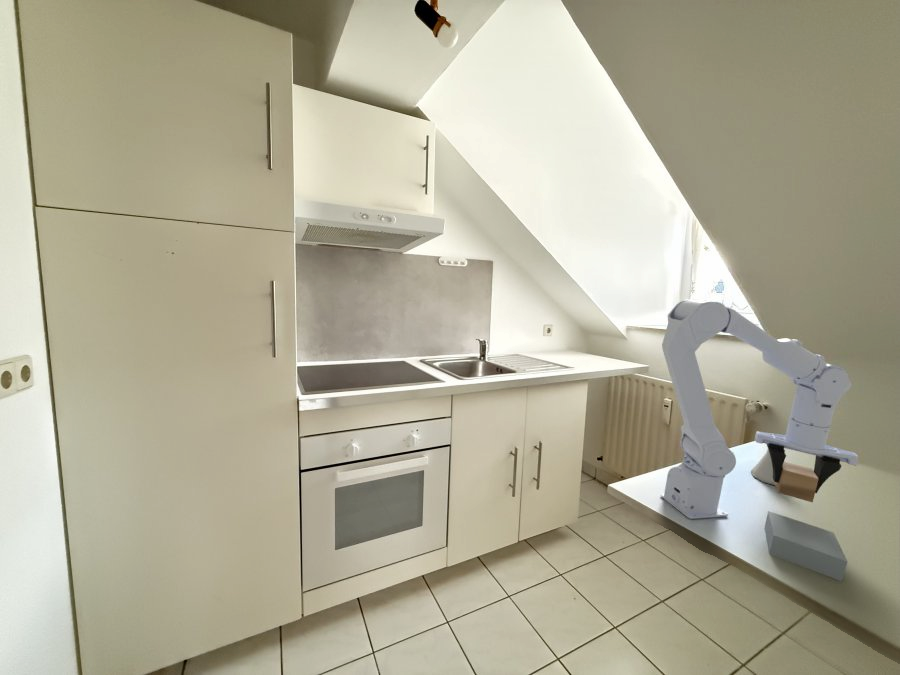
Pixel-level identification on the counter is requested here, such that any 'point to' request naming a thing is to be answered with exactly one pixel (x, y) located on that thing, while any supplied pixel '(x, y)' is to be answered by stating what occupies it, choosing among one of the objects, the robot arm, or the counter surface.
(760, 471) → the flask
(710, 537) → the counter surface
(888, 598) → the counter surface
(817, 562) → the slate block
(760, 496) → the counter surface
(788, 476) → the walnut cube
